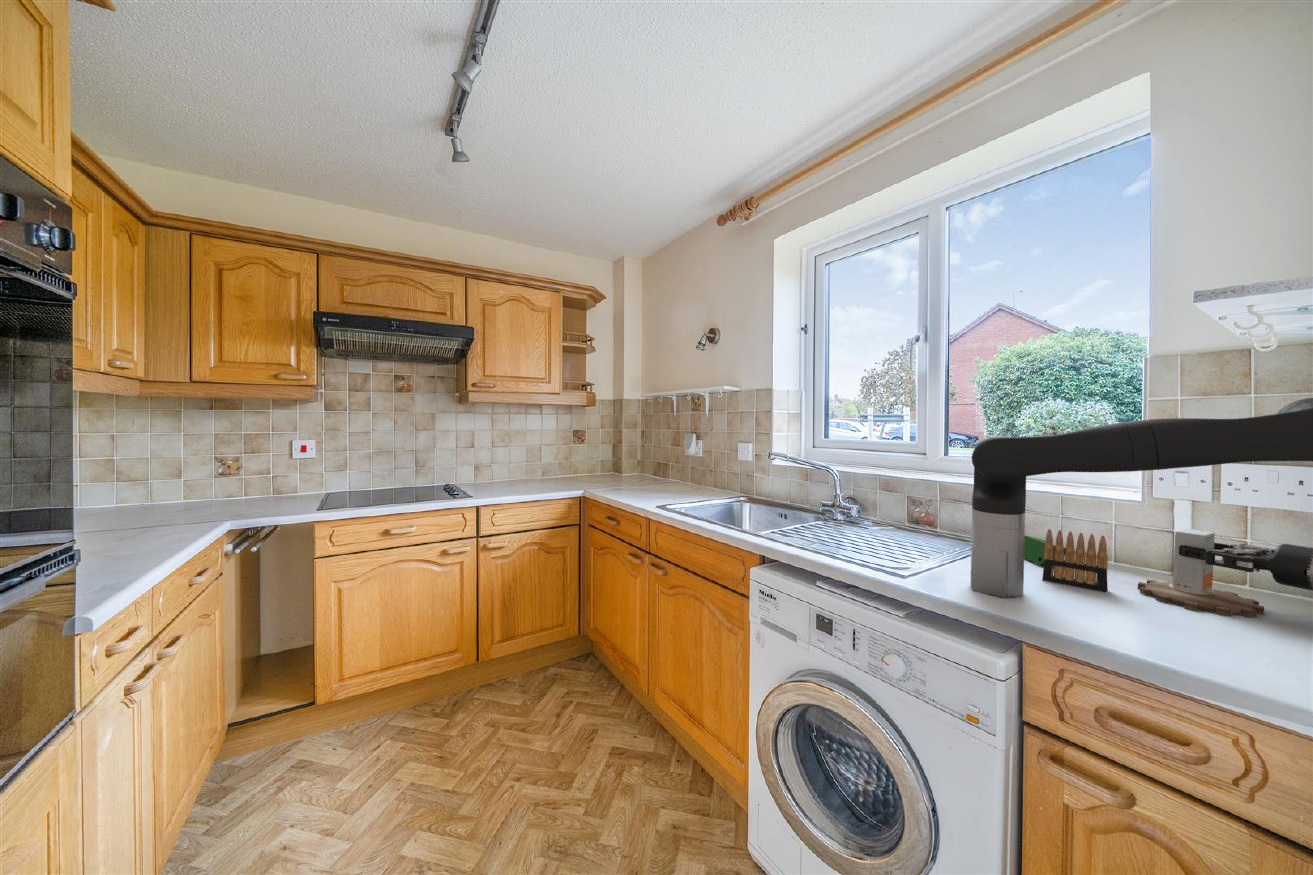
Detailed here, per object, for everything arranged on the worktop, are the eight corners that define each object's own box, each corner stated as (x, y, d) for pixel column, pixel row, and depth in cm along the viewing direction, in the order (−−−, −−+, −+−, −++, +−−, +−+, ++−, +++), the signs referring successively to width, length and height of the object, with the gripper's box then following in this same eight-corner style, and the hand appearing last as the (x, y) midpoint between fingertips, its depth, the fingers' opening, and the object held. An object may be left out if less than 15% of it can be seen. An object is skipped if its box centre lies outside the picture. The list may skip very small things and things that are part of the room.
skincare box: (1202, 594, 94) (1204, 535, 93) (1171, 587, 98) (1174, 531, 97) (1213, 589, 96) (1215, 532, 96) (1183, 583, 100) (1185, 528, 100)
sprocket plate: (1260, 624, 83) (1261, 617, 83) (1129, 596, 97) (1130, 589, 97) (1266, 603, 93) (1266, 596, 93) (1146, 580, 106) (1146, 574, 106)
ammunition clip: (1107, 590, 100) (1109, 535, 100) (1107, 592, 99) (1109, 536, 98) (1043, 578, 108) (1044, 527, 107) (1042, 580, 106) (1043, 528, 106)
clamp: (1058, 583, 117) (1078, 556, 113) (1032, 576, 118) (1052, 549, 114) (1035, 553, 128) (1053, 527, 123) (1011, 547, 128) (1029, 521, 124)
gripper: (1340, 545, 84) (1209, 527, 100) (1304, 554, 79) (1172, 533, 95) (1338, 586, 85) (1208, 561, 100) (1303, 597, 80) (1171, 569, 95)
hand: (1191, 547), depth 97 cm, fingers open, 8 cm apart
